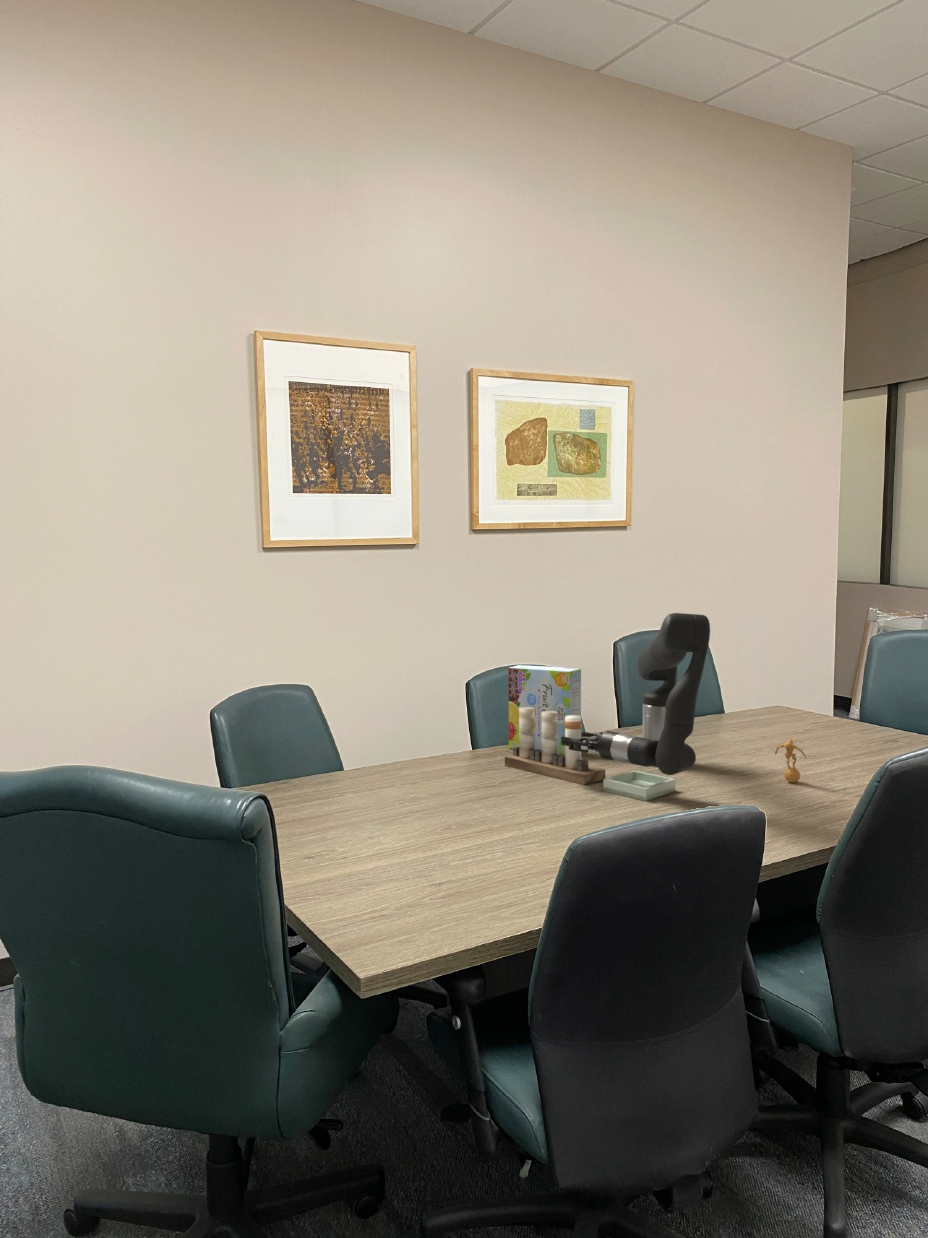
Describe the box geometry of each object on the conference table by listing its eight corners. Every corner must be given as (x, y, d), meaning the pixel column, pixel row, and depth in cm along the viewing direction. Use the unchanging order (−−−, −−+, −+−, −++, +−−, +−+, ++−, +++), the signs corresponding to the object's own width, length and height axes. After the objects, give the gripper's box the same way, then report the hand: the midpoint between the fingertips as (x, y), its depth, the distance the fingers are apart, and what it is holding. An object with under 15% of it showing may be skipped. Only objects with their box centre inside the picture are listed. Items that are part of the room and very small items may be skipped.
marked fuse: (571, 764, 242) (572, 714, 241) (585, 767, 239) (585, 716, 238) (561, 767, 239) (561, 716, 238) (574, 770, 236) (574, 719, 235)
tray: (633, 781, 234) (633, 770, 234) (675, 790, 225) (675, 779, 224) (603, 790, 225) (603, 779, 225) (645, 801, 216) (646, 789, 215)
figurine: (810, 783, 231) (811, 738, 230) (802, 788, 226) (803, 742, 225) (779, 778, 236) (780, 734, 235) (770, 783, 231) (771, 738, 230)
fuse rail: (525, 760, 258) (525, 704, 257) (605, 778, 237) (605, 718, 236) (504, 765, 252) (504, 708, 250) (584, 784, 231) (584, 722, 229)
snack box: (582, 751, 268) (583, 668, 266) (570, 757, 261) (570, 671, 259) (520, 743, 280) (520, 663, 278) (507, 748, 273) (506, 666, 271)
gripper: (636, 729, 232) (588, 720, 243) (604, 737, 222) (554, 728, 234) (636, 757, 232) (587, 747, 244) (603, 766, 223) (554, 756, 234)
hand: (571, 738), depth 239 cm, fingers open, 8 cm apart
